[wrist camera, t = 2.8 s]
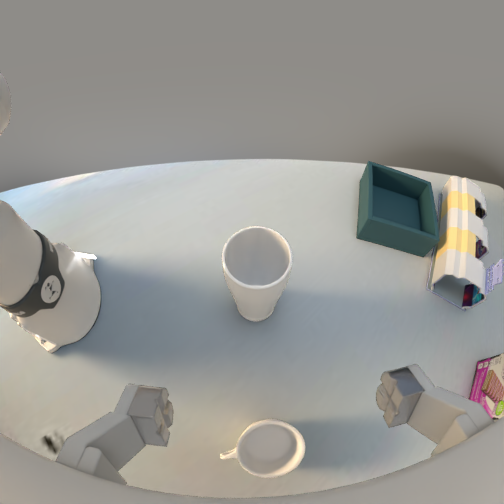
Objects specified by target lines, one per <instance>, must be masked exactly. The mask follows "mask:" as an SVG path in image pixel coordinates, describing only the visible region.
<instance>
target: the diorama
mask: <svg viewBox="0 0 504 504" xmlns="http://www.w3.org/2000/svg"><path fill="white" fill-rule="evenodd" d="M486 216H487V208H486V199H485V195H484V194H483V193H482V192H481V191H480V187H479V186H477V185H476V184H475V183H473V182H472V181H470V180H469V179H467V178H463V179H461V178H460V177H458V176H451V177H450V179H449V180H448V182H447V183H446V185H445V186H444V187H443V195H442V194H440V196H439V209H438V220H437V223H438V231H439V240H440V241H439V242H438V243H437V244H436V245H435V246H434V250H433V257H432V262H431V268H430V273H429V278H428V283H427V288H426V289H427V290H429V291H431V292H432V293H434V294H436V295H438V296H440V297H441V298H443V299H445V300H447V301H448V302H450V303H452V304H454V305H455V306H457V307H459V308H460V309H462V310H464V311H466V308H473V307H475V306H477V305H478V304H480V303H482V302H484V301H485V300H486V297H487V294H488V293H490V292H491V290H488V288H489V289H491V288H490V287H492V290H493V289H494V285H497V284H500V283H502V276H503V275H504V273H503V266H504V264H503V263H502V258H501V259H500V260H499V261H498V263H497V264H496V265H495V266H494V263H493V265H491V266H490V268H491V269H489V268H488V269H487V270H486V269H485V268H483V262H481V261H480V260H481V259H482V258H483V257H484V256H485V255H487V254H488V253H489V250H488V230H487V227H485V226H484V225H483V219H484V218H485V217H486ZM476 237H478V238H479V239H480V240H478V242H476ZM503 261H504V260H503ZM498 266H499V267H498ZM492 267H493V268H492ZM492 270H493V272H492ZM490 271H491V272H490ZM488 272H490V276H488V274H489V273H488ZM492 274H493V275H492ZM492 276H493V279H492ZM489 277H490V280H489ZM498 279H499V280H498ZM488 280H489V281H490V285H489V282H488ZM492 280H493V283H492ZM470 282H471V283H473V284H470ZM491 283H492V284H491ZM491 285H492V286H491ZM489 286H490V287H489ZM487 291H489V292H487Z"/></svg>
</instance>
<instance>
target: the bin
mask: <svg viewBox="0 0 504 504" xmlns="http://www.w3.org/2000/svg"><path fill="white" fill-rule="evenodd" d="M356 238H358V239H361V240H365V241H369V242H372V243H376V244H380V245H383V246H387V247H390V248H394V249H397V250H401V251H404V252H407V253H411V254H414V255H418V256H421V257H424V256H425V255H426V254H427V253H428V252H429V251H430V250H431V249H432V248H433V247H434V246H435V245H436V244H437V243H438V242H439V241H440V240H439V231H438V223H437V216H436V209H435V203H434V197H433V192H432V186H431V182H427V181H425V180H423V179H420V178H417V177H415V176H412V175H409V174H406V173H404V172H401V171H398V170H395V169H392V168H389V167H386V166H383V165H379V164H376V163H373V162H370V161H369V162H368V163H367V166H366V168H365V171H364V173H363V176H362V178H361V180H360V192H359V211H358V225H357V237H356Z"/></svg>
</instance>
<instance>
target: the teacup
mask: <svg viewBox="0 0 504 504" xmlns="http://www.w3.org/2000/svg"><path fill="white" fill-rule="evenodd" d="M304 454H305V441H304V438H303V436H302V435H301V433H300V432H299V431H298V430H297V429H296V428H295V427H294V426H292V425H290V424H288V423H286V422H284V421H281V420H278V419H266V420H262V421H257V422H254V423H253V424H251V425H250V426H248V427H247V428H246V430H245V431H244V432H243V433H242V435H241V436H240V438H239V440H238V442H237V446H236V448H235V449H233V450H230V451H227V452H223V453H221V454H220V457H221V459H238V462H239V463H240V465H241V466H242V467H243V468H244V469H245V470H246V471H247V472H249V473H250V474H252V475H255V476H258V477H263V478H275V477H279V476H283V475H285V474H287V473H289V472H291V471H292V470H294V469H295V468H296V467H297V466H298V465H299V464H300V462H301V461H302V459H303V457H304Z"/></svg>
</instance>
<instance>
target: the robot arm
mask: <svg viewBox="0 0 504 504" xmlns="http://www.w3.org/2000/svg"><path fill="white" fill-rule="evenodd" d="M10 114H11V95H10V90H9V86H8V83H7V81H6V79H5V78H4V76H3V75H2V74H1V72H0V136H1V134H2V133H3V132H4V130H5V129H6V127H7V126H8V124H9V120H10ZM93 259H96V257H95V256H94V255H90V254H88V253H81V252H74V251H72V250H71V249H70V248H69V247H68V246H67V245H65V244H64V243H61V244H59V243H50V241H49V240H48V239H47V238H46V237H45V236H44V235H42V234H41V233H40V232H38V231H37V230H33V229H32V228H31V227H30V226H29V225H28V224H27V223H26V222H25V221H24V220H23V219H22V218H21V217H20V216H19V215H18V214H17V213H16V211H15V210H14V209H13V208H12V207H11V206H10V205H9V204H8V203H6V202H4V201H1V200H0V306H1V307H2V308H4V309H5V310H6V311H7V312H9V313H10V317H11V318H12V319H13V320H15V321H16V322H18V325H19V326H20V327H21V328H23V329H24V330H25V331H27V332H29V333H31V334H33V336H34V337H35V338H36V339H37V340H38V342H39V343H40V344H41V345H42V346H43V348H44V349H45V350H46V351H48V352H50V353H53V352H55V351H56V350H57V349H59V348H60V347H61V346H63V345H66V344H71V343H74V342H76V341H78V340H80V339H81V338H83V337H84V336H85V335H86V334H87V333H88V332H89V330H90V329H91V327H92V326H93V324H94V322H95V320H96V318H97V315H98V312H99V308H100V302H101V292H100V286H99V282H98V280H97V278H96V276H95V273H94V270H93ZM46 341H47V342H46ZM380 380H381V382H382V384H381V385H380V386H379V387H378V388H377V392H376V401H377V405H378V407H379V409H381V410H383V411H384V415H383V417H384V419H385V421H386V423H387V425H388V427H389V428H390V427H394V426H398V425H401V424H405V423H407V424H408V425H410V426H411V427H413V428H414V429H415V430H417V431H418V432H420V433H421V434H423V435H424V436H426V437H427V438H429V439H430V440H432V441H433V442H435V443H436V444H438V445H437V446H436V448H435V449H434V450H433V452H432V453H431V457H430V458H428V459H426V460H424V461H421V462H419V463H416V464H414V465H411V466H409V467H406V468H403V469H401V470H398V471H395V472H392V473H389V474H386V475H383V476H380V477H377V478H373V479H370V480H366V481H363V482H359V483H355V484H351V485H347V486H343V487H338V488H333V489H328V490H323V491H317V492H311V493H304V494H296V495H288V496H277V497H262V498H213V497H198V496H187V495H179V494H171V493H164V492H158V491H152V490H147V489H142V488H137V487H133V486H128V485H126V484H127V482H126V481H125V480H124V478H123V477H122V476H121V475H120V474H119V473H118V471H119V470H120V469H121V468H122V467H123V466H124V465H125V464H126V463H127V462H129V461H130V460H131V459H132V458H133V457H134V456H135V455H136V454H137V453H138V452H139V451H140V450H141V449H143V448H144V447H145V446H146V445H145V444H148V445H156V446H166V447H167V444H168V440H169V436H170V432H169V430H168V428H169V427H170V426H171V425H172V423H173V414H174V412H173V406H172V403H171V402H170V401H169V400H168V396H169V394H168V391H167V389H166V388H162V387H153V386H144V385H135V384H128V385H126V387H125V389H124V391H123V393H122V395H121V397H120V400H119V402H118V404H117V406H116V408H115V410H114V412H109V413H108V414H106V415H104V416H103V417H101V418H100V419H98V420H96V421H95V422H93V423H92V424H90V425H88V426H87V427H85V428H83V429H82V430H80V431H78V432H77V433H75V434H73V435H71V436H70V437H68V438H67V439H66V441H65V443H64V445H63V447H62V449H61V451H60V453H59V455H58V457H57V459H56V461H53V460H51V459H49V458H46V457H44V456H42V455H40V454H38V453H36V452H34V451H32V450H30V449H28V448H26V447H24V446H22V445H20V444H19V443H17V442H15V441H13V440H11V439H10V438H8V437H6V436H5V435H3V434H1V433H0V504H504V416H503V417H501V418H500V419H498V420H497V421H495V422H494V421H493V419H492V418H491V417H490V415H489V414H488V413H487V412H486V410H485V409H484V408H483V406H482V405H481V404H479V403H477V402H474V401H472V400H469V399H467V398H464V397H462V396H460V395H457V394H455V393H452V392H450V391H448V390H445V389H443V388H441V387H435V386H434V385H433V383H432V382H431V381H430V380H429V378H428V377H427V376H426V374H425V373H424V372H423V370H422V369H421V368H420V367H419V365H417V364H413V365H410V366H406V367H402V368H398V369H394V370H390V371H386V372H384V373H383V374H382V376H381V379H380Z"/></svg>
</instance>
